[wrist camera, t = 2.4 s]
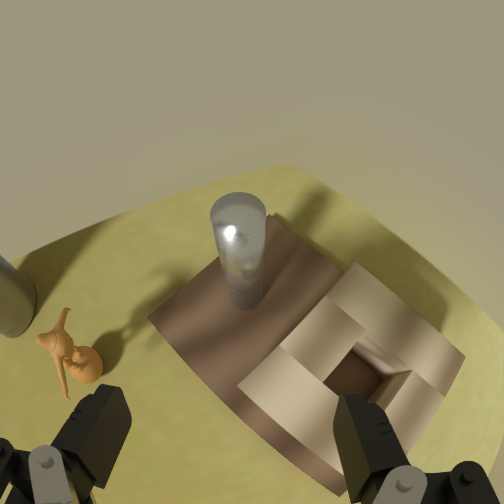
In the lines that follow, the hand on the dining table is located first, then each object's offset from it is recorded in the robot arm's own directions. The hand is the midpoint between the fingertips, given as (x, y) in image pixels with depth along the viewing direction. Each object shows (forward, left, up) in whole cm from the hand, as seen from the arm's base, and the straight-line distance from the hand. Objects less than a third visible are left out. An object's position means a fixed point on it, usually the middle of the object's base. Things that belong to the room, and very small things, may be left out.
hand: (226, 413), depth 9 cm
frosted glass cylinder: (-8, +8, -16) cm, 20 cm away
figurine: (-13, -9, -18) cm, 24 cm away
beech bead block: (+6, +8, -16) cm, 19 cm away
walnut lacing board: (0, +8, -18) cm, 19 cm away
